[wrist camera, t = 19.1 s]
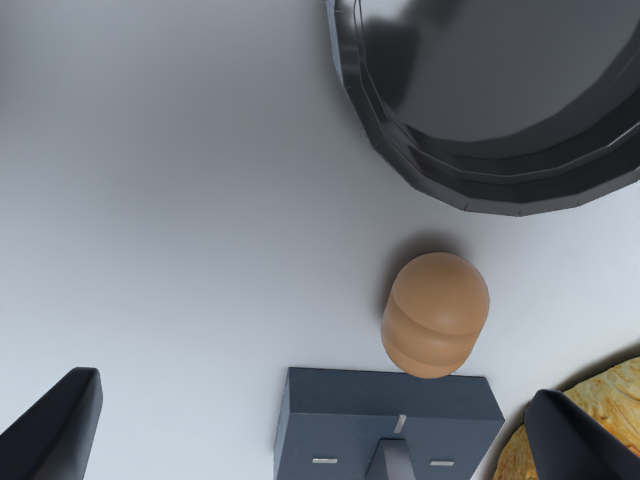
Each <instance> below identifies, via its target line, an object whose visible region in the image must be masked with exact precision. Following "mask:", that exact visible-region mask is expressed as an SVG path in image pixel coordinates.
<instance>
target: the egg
mask: <svg viewBox="0 0 640 480" xmlns="http://www.w3.org/2000/svg"><path fill="white" fill-rule="evenodd" d="M489 302H490V299H489V293H488V288H487V285H486V283H485V281H484V279H483V277H482V275H481V274H480V272H479V271H478V270H477V269H476V268H475V267H474V266H473V265H472V264H471V263H470V262H468V261H467V260H465V259H463V258H461V257H459V256H457V255H454V254H450V253H445V252H435V253H427V254H423V255H421V256H419V257H416V258H414V259H413V260H411V261H410V262H409V263H407V264H406V265H405V266H404V267H403V268H402V269H401V271H400V272H399V273H398V275H397V277H396V279H395V281H394V283H393V286H392V289H391V292H390V295H389V298H388V301H387V305H386V308H385V311H384V314H383V318H382V323H381V337H382V343H383V345H384V348H385V350H386V353H387V354H388V356H389V357H390V359H391V360H392V361H393V362H394V363H395V364H396V366H398V367H399V368H400V369H401V370H403V371H404V372H406V373H408V374H410V375H413V376H416V377H419V378H439V377H443V376H446V375H448V374H450V373H452V372H454V371H455V370H457V369H458V368H459V367H460V366H461V365H462V364H463V363H464V362H465V361H466V359H467V358H468V356H469V355H470V353H471V351H472V349H473V347H474V344H475V342H476V340H477V338H478V336H479V334H480V332H481V330H482V328H483V326H484V324H485V321H486V318H487V315H488V312H489Z"/></svg>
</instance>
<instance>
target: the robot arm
mask: <svg viewBox="0 0 640 480" xmlns="http://www.w3.org/2000/svg"><path fill="white" fill-rule="evenodd" d="M102 403H103V393H102V386H101V379H100V373H99V370H98V369H97V368H90V367H76V368H74V369H72V370H71V371H70V372H68V373H67V374H66V375H65V376H64V377H63V378H62V379H61V380H60V381H59V382H58V383H56V384H55V385H54V386H53V387H52V388H51V389H50V390H49V391H48V392H47V393H46V394H44V395H43V396H42V397H41V398H40V399H39V400H38V401H37V402H36V403H35V404H34V405H33V406H31V407H30V408H29V409H28V410H27V411H26V412H25V413H24V414H23V415H22V416H21V417H19V418H18V419H17V420H16V421H15V422H14V423H13V424H12V425H11V426H10V427H9V428H7V429H6V430H5V431H4V432H3V433H2V434H1V435H0V480H83V478H84V475H85V471H86V467H87V463H88V459H89V455H90V451H91V447H92V443H93V440H94V436H95V432H96V428H97V424H98V420H99V416H100V412H101V408H102ZM523 421H524V427H525V430H526V434H527V438H528V442H529V446H530V449H531V453H532V457H533V461H534V465H535V468H536V472H537V476H538V480H640V458H639V457H638V456H637V455H636V454H634V453H633V452H632V451H631V450H630V449H629V448H627V447H626V446H625V445H624V444H623V443H621V442H620V441H619V440H618V439H617V438H615V437H614V436H613V435H612V434H611V433H610V432H608V431H607V430H606V429H605V428H604V427H602V426H601V425H600V424H599V423H598V422H597V421H595V420H594V419H593V418H592V417H591V416H589V415H588V414H587V413H586V412H585V411H583V410H582V409H581V408H580V407H579V406H578V405H576V404H575V403H574V402H573V401H572V400H570V399H569V398H568V397H567V396H566V395H565V394H563V393H562V392H560V391H558V390H551V389H541V390H539V391H537V393H536V394H535V396H534V397H533V399H532V400H531V402H530V404H529V405H528V407H527V408H526V410H525V412H524V417H523Z"/></svg>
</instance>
